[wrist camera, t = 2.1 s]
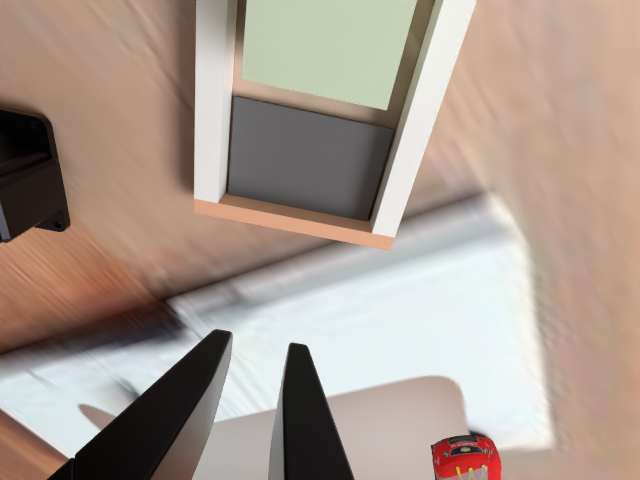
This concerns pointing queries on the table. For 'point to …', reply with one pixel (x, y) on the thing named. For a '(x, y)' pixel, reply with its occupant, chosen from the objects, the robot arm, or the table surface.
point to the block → (327, 47)
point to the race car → (466, 459)
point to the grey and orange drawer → (303, 172)
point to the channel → (412, 131)
